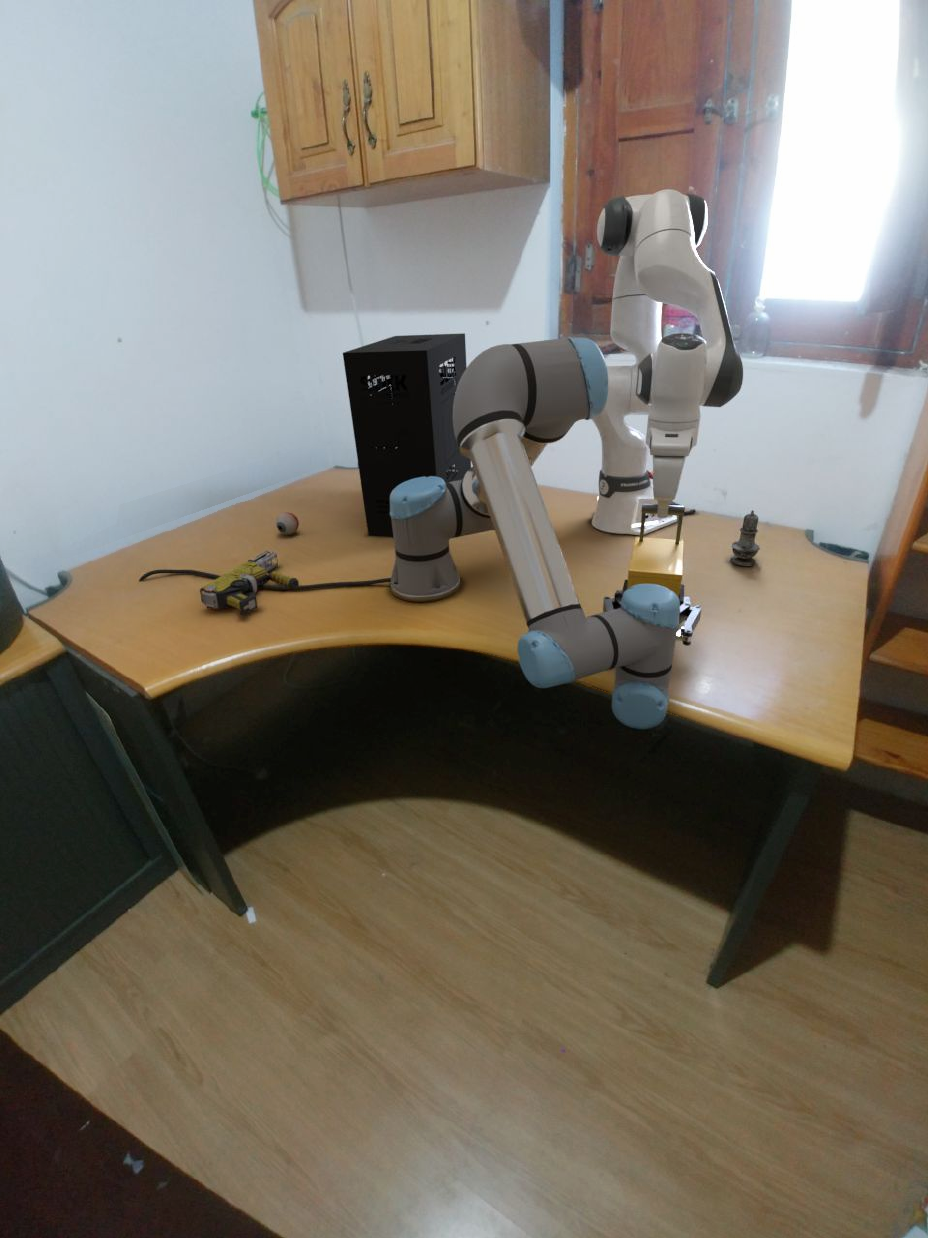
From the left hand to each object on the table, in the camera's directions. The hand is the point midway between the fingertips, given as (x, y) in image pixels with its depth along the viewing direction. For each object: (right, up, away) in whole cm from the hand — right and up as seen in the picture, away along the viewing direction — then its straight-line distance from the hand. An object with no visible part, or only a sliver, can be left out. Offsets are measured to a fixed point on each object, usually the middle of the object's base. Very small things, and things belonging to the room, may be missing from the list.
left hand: (653, 588), depth 113 cm
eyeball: (-83, +17, +52) cm, 100 cm away
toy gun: (-81, +1, +23) cm, 84 cm away
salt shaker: (+28, +7, +23) cm, 37 cm away
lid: (+1, +6, +1) cm, 6 cm away
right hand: (+3, +16, +2) cm, 16 cm away
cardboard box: (-47, +25, +62) cm, 82 cm away
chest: (+2, -4, +6) cm, 8 cm away
